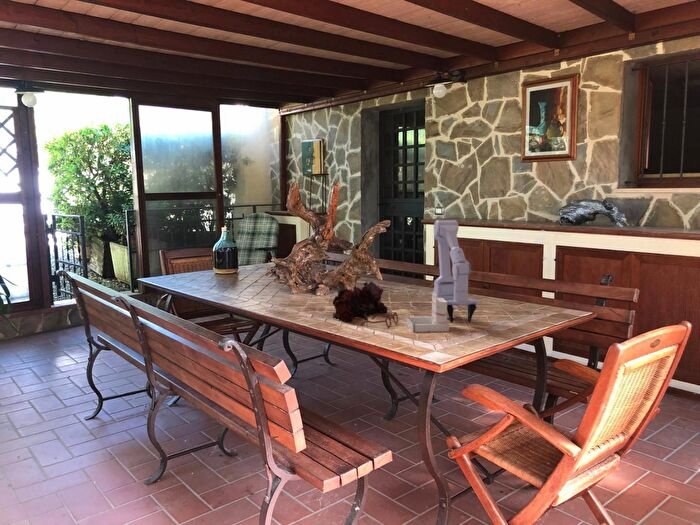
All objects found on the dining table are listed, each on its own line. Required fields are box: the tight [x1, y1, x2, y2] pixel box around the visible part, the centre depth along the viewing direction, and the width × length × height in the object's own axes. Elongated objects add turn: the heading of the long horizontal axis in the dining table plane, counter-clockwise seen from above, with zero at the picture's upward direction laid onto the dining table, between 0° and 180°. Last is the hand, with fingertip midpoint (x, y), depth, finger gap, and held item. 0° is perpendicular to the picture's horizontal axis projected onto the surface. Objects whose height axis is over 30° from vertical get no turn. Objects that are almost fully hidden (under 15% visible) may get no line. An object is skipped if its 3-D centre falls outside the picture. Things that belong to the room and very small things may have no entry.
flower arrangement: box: [332, 281, 388, 323], centre depth 254 cm, size 31×20×15 cm, turn 143°
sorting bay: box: [406, 315, 450, 333], centre depth 230 cm, size 14×15×3 cm
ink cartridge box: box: [431, 291, 448, 324], centre depth 230 cm, size 9×5×15 cm, turn 4°
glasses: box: [359, 312, 399, 328], centre depth 237 cm, size 13×13×5 cm
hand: (460, 322), depth 231 cm, fingers open, 7 cm apart
